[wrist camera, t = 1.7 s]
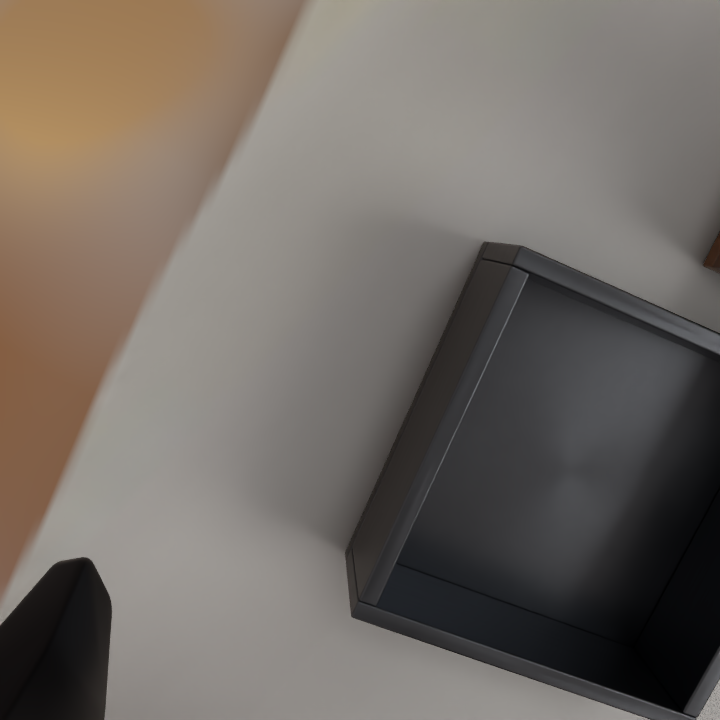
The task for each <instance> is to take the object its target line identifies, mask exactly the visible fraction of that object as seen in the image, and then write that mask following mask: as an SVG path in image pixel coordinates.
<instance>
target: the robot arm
mask: <svg viewBox="0 0 720 720" xmlns="http://www.w3.org/2000/svg"><path fill="white" fill-rule="evenodd" d="M111 619H112V605H111V600H110V596H109V594H108V592H107V590H106V588H105V586H104V584H103V582H102V579H101V577H100V575H99V573H98V571H97V569H96V567H95V565H94V564H93V562H92V561H91V560H90V559H89V558H86V557H81V558H76V559H70V560H64V561H60V562H57V563H56V564H54V565H53V566H52V567H51V568H50V569H49V570H48V571H47V573H46V574H45V575H44V576H43V577H42V578H41V579H40V581H39V582H38V583H37V584H36V585H35V586H34V587H33V589H32V590H31V591H30V592H29V593H28V594H27V596H26V597H25V598H24V599H23V600H22V601H21V602H20V604H19V605H18V606H17V607H16V608H15V609H14V610H13V612H12V613H11V614H10V615H9V616H8V617H7V618H6V620H5V621H4V622H3V623H2V624H1V625H0V720H104V717H105V706H106V691H107V677H108V662H109V648H110V634H111Z"/></svg>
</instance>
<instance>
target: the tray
mask: <svg viewBox="0 0 720 720" xmlns="http://www.w3.org/2000/svg"><path fill="white" fill-rule="evenodd" d="M345 558H346V568H347V578H348V588H349V598H350V608H351V616H352V617H353V618H355V619H358V620H361V621H364V622H367V623H370V624H373V625H376V626H379V627H381V628H384V629H387V630H390V631H393V632H396V633H399V634H402V635H405V636H408V637H411V638H414V639H417V640H419V641H422V642H425V643H428V644H431V645H434V646H437V647H440V648H443V649H446V650H449V651H452V652H455V653H458V654H460V655H463V656H466V657H469V658H472V659H475V660H478V661H481V662H484V663H487V664H490V665H493V666H496V667H498V668H501V669H504V670H507V671H510V672H513V673H516V674H519V675H522V676H525V677H528V678H531V679H534V680H536V681H539V682H542V683H545V684H548V685H551V686H554V687H557V688H560V689H563V690H566V691H569V692H572V693H574V694H577V695H580V696H583V697H586V698H589V699H592V700H595V701H598V702H601V703H604V704H607V705H610V706H612V707H615V708H618V709H621V710H624V711H627V712H630V713H633V714H636V715H639V716H642V717H645V718H648V719H650V720H696V717H698V716H699V714H700V713H701V711H702V709H703V707H704V705H705V704H706V702H707V700H708V698H709V697H710V695H711V693H712V691H713V690H714V688H715V686H716V684H717V683H718V681H719V679H720V333H718V332H715V331H713V330H711V329H709V328H706V327H704V326H702V325H700V324H697V323H695V322H693V321H691V320H688V319H686V318H684V317H682V316H679V315H677V314H675V313H673V312H670V311H668V310H666V309H664V308H661V307H659V306H657V305H655V304H652V303H650V302H648V301H646V300H643V299H641V298H639V297H637V296H634V295H632V294H630V293H628V292H625V291H623V290H621V289H619V288H616V287H614V286H612V285H610V284H607V283H605V282H603V281H601V280H598V279H596V278H594V277H592V276H589V275H587V274H585V273H583V272H580V271H578V270H576V269H574V268H571V267H569V266H567V265H565V264H562V263H560V262H558V261H556V260H553V259H551V258H549V257H547V256H544V255H542V254H540V253H538V252H535V251H533V250H531V249H529V248H526V247H524V246H520V245H511V244H503V243H494V242H484V243H483V245H482V248H481V250H480V252H479V254H478V257H477V259H476V261H475V263H474V266H473V268H472V270H471V272H470V275H469V277H468V279H467V281H466V283H465V286H464V288H463V290H462V292H461V295H460V297H459V299H458V301H457V304H456V306H455V308H454V310H453V313H452V315H451V317H450V319H449V321H448V324H447V326H446V328H445V330H444V333H443V335H442V337H441V339H440V342H439V344H438V346H437V348H436V351H435V353H434V355H433V357H432V359H431V362H430V364H429V366H428V368H427V371H426V373H425V375H424V377H423V380H422V382H421V384H420V386H419V389H418V391H417V393H416V395H415V397H414V400H413V402H412V404H411V406H410V409H409V411H408V413H407V415H406V418H405V420H404V422H403V424H402V427H401V429H400V431H399V433H398V435H397V438H396V440H395V442H394V444H393V447H392V449H391V451H390V453H389V456H388V458H387V460H386V462H385V465H384V467H383V469H382V471H381V474H380V476H379V478H378V480H377V482H376V485H375V487H374V489H373V491H372V494H371V496H370V498H369V500H368V503H367V505H366V507H365V509H364V512H363V514H362V516H361V518H360V520H359V523H358V525H357V527H356V529H355V532H354V534H353V536H352V538H351V541H350V543H349V545H348V547H347V550H346V552H345Z"/></svg>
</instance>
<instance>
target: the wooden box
mask: <svg viewBox="0 0 720 720" xmlns="http://www.w3.org/2000/svg"><path fill="white" fill-rule="evenodd" d="M703 266H704V267H706V268H708V269H711V270H713V271H715V272H717V273H719V274H720V232H719V234H718V236H717V238H716V240H715V242H714V244H713V246H712V248H711V250H710V252H709V254H708V256H707V258H706V260H705V262H704V264H703Z"/></svg>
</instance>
